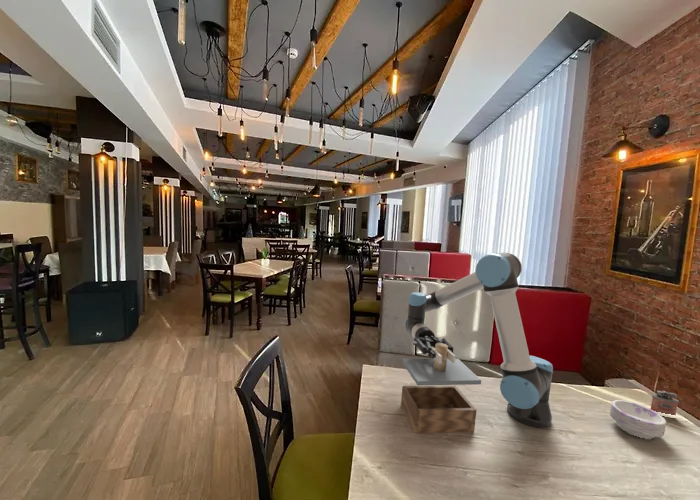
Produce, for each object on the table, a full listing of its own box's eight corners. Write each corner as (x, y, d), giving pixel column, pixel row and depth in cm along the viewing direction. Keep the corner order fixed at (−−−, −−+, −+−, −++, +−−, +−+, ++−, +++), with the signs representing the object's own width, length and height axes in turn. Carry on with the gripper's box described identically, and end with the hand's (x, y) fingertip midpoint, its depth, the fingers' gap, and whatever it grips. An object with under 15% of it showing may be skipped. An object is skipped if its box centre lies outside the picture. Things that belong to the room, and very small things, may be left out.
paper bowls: (660, 431, 118) (664, 411, 117) (665, 452, 107) (669, 430, 106) (608, 412, 128) (611, 394, 127) (607, 430, 116) (610, 410, 116)
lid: (457, 362, 125) (460, 336, 125) (480, 384, 109) (483, 355, 108) (402, 362, 122) (404, 336, 121) (417, 385, 106) (419, 355, 105)
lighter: (651, 414, 129) (655, 391, 128) (647, 409, 132) (651, 387, 131) (677, 420, 126) (681, 396, 125) (672, 415, 129) (676, 392, 128)
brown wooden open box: (453, 404, 127) (455, 385, 126) (474, 431, 111) (476, 410, 110) (400, 405, 123) (402, 386, 123) (414, 433, 108) (416, 411, 107)
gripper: (441, 343, 134) (469, 369, 111) (402, 343, 132) (422, 370, 109) (443, 326, 133) (471, 349, 110) (403, 326, 131) (424, 349, 108)
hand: (447, 359), depth 110 cm, fingers closed on lid, 4 cm apart
